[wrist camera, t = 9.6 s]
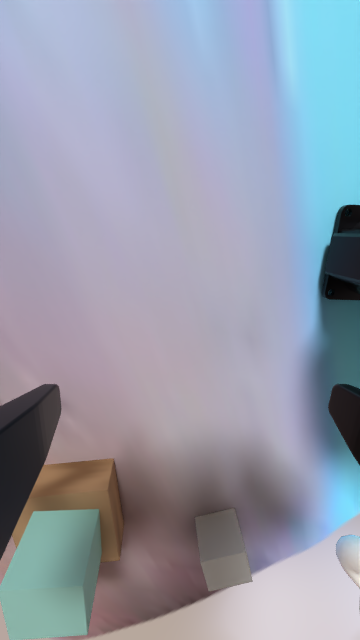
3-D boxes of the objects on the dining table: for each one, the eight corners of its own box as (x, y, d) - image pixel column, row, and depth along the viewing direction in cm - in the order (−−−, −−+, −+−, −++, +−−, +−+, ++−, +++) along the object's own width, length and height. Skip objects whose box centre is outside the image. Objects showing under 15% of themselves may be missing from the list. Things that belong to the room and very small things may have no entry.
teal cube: (99, 508, 22) (82, 585, 17) (101, 552, 23) (87, 634, 19) (33, 511, 22) (-2, 591, 17) (40, 555, 23) (9, 640, 18)
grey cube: (234, 507, 27) (246, 551, 24) (240, 534, 29) (252, 581, 25) (194, 516, 27) (200, 562, 24) (202, 543, 29) (208, 591, 25)
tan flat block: (114, 454, 25) (107, 489, 21) (124, 519, 27) (119, 560, 24) (22, 463, 24) (0, 500, 21) (40, 529, 27) (24, 571, 23)
